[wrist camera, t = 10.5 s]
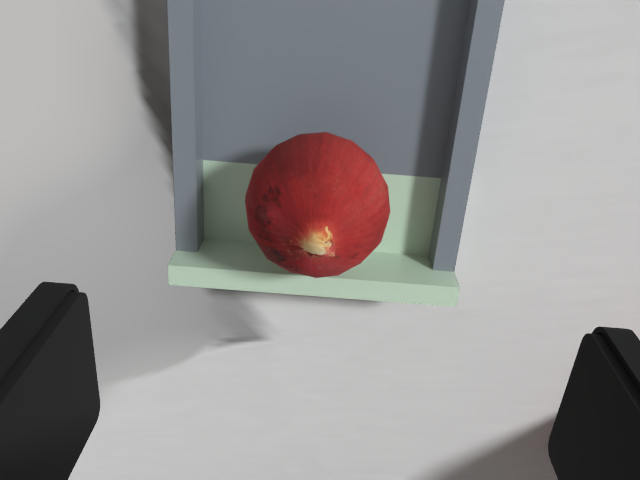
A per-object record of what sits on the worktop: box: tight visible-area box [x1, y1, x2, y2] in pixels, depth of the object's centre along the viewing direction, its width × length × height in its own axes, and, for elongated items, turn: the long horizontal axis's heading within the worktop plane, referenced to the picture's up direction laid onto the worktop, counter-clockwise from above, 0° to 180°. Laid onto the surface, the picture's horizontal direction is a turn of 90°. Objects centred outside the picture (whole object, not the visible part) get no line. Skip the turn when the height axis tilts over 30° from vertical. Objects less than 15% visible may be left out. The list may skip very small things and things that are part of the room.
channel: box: [167, 0, 504, 307], centre depth 25 cm, size 19×13×4 cm
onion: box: [245, 132, 390, 278], centre depth 24 cm, size 6×6×8 cm
